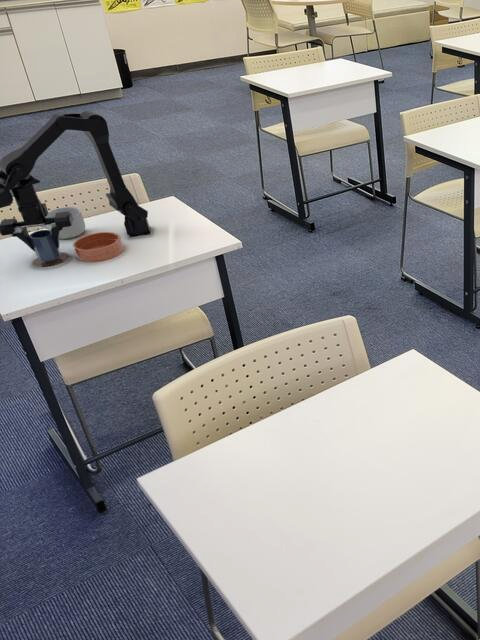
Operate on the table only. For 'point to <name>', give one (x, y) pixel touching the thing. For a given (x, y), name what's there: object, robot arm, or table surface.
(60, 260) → the coaster
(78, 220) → the teacup
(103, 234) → the bowl
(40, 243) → the cup
